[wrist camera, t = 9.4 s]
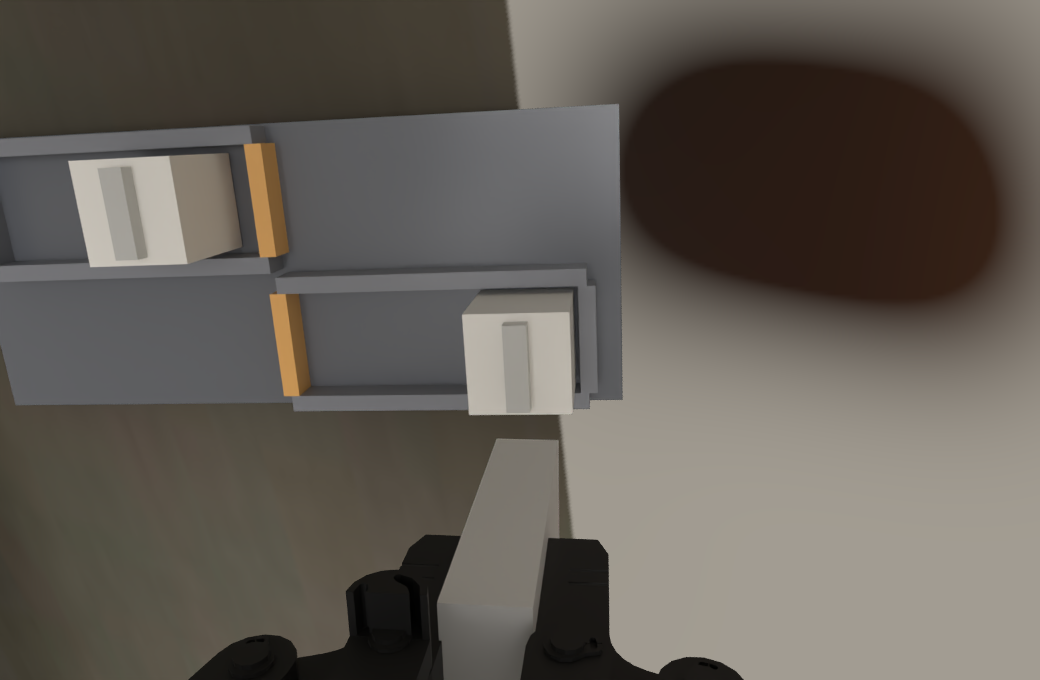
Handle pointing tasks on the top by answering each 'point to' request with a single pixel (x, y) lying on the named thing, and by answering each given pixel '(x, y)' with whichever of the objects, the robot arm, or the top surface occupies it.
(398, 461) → the top surface
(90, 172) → the tab
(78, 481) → the top surface
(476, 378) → the tab
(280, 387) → the switch bank
